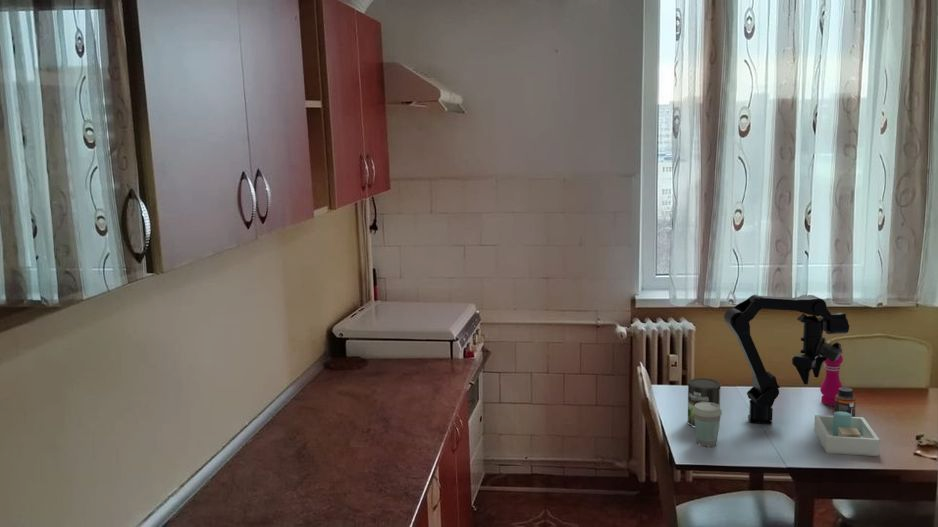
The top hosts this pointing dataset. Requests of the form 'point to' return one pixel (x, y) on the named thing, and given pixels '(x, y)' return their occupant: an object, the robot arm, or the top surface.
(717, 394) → the coffee can
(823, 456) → the top surface
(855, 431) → the beige rectangular block
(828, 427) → the tote
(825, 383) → the pepper mill
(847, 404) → the supplement bottle
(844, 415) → the teal cylinder
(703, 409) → the coffee cup
